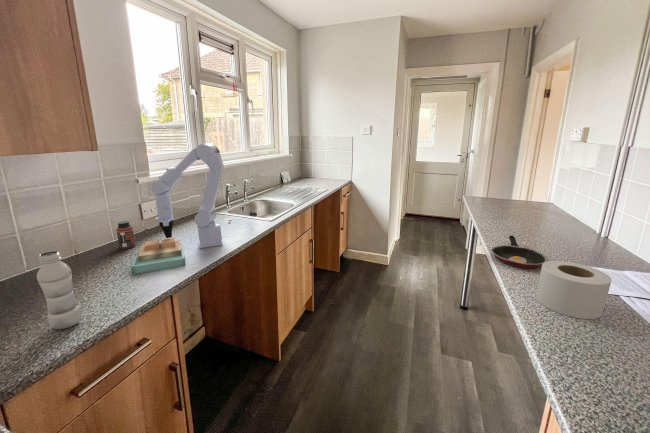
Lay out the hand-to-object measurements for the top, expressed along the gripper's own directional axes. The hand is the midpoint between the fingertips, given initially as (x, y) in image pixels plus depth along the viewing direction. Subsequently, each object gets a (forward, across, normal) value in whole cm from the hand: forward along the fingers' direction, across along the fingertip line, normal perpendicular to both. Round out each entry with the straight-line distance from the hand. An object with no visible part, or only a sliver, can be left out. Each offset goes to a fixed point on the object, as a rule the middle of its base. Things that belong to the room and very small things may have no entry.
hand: (168, 237), depth 133 cm
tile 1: (0, +8, -6) cm, 10 cm away
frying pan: (+4, +74, +128) cm, 147 cm away
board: (+3, +9, -3) cm, 10 cm away
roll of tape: (+4, +104, +106) cm, 148 cm away
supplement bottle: (+4, -5, -16) cm, 18 cm away
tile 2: (0, +8, 0) cm, 8 cm away
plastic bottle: (+4, +53, -24) cm, 58 cm away
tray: (+3, +22, -3) cm, 22 cm away
